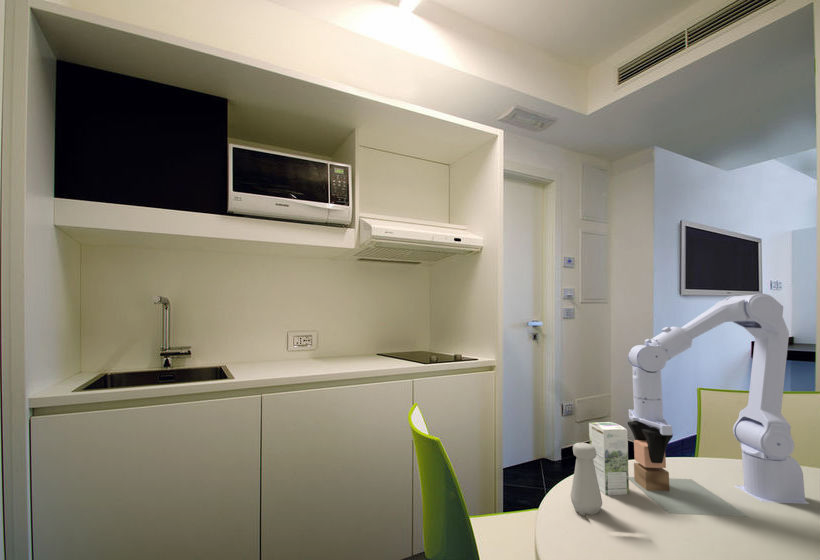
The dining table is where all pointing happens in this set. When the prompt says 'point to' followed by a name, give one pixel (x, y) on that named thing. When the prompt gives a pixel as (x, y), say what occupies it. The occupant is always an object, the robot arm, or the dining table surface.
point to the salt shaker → (585, 481)
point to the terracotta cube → (645, 455)
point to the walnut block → (651, 478)
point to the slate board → (690, 499)
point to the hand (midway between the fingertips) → (650, 458)
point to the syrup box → (610, 457)
